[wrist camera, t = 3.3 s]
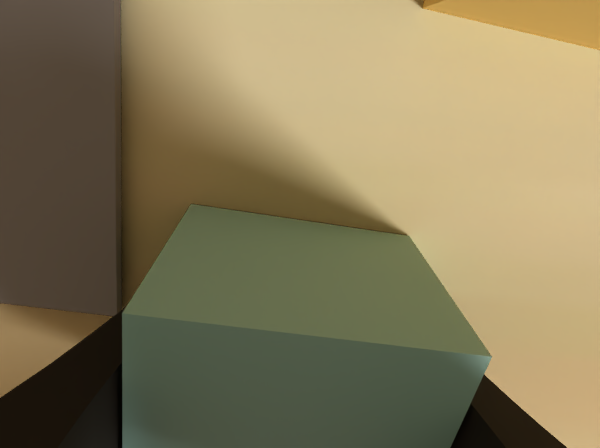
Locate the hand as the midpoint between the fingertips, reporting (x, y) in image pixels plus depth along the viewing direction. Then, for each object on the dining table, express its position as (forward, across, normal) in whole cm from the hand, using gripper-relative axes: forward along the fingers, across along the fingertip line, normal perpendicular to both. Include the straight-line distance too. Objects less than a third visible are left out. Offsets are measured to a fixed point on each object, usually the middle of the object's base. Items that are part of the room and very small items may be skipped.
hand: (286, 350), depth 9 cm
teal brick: (+1, 0, 0) cm, 1 cm away
